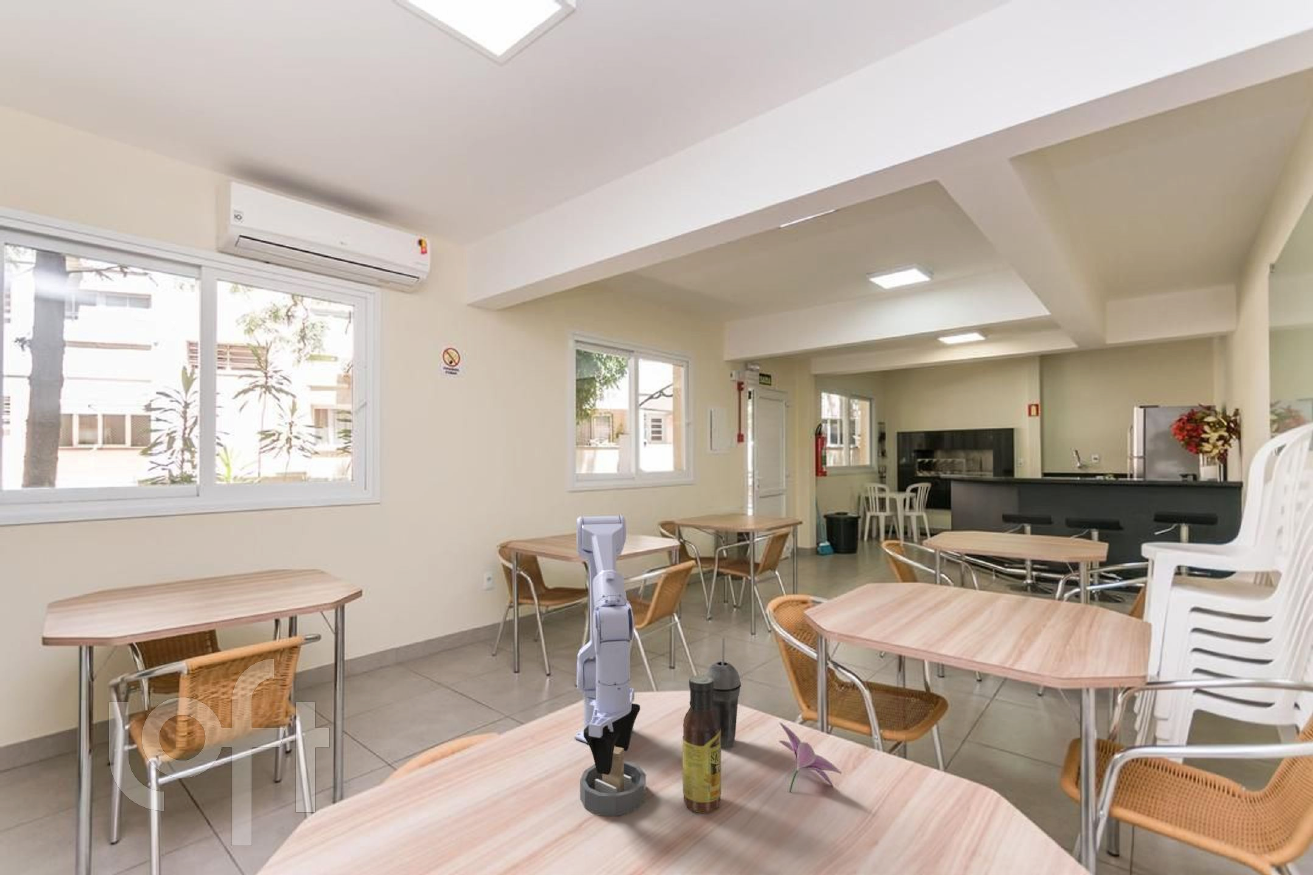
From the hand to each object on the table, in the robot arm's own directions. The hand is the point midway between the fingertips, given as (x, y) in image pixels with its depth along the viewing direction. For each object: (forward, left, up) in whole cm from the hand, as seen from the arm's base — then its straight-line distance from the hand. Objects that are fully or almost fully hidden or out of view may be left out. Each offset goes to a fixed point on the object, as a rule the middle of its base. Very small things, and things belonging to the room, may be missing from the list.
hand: (613, 760), depth 97 cm
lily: (-22, +25, -6) cm, 34 cm away
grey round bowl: (0, 0, -6) cm, 6 cm away
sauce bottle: (-7, +13, -6) cm, 16 cm away
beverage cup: (-26, +6, -6) cm, 27 cm away
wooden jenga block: (0, 0, -5) cm, 5 cm away
